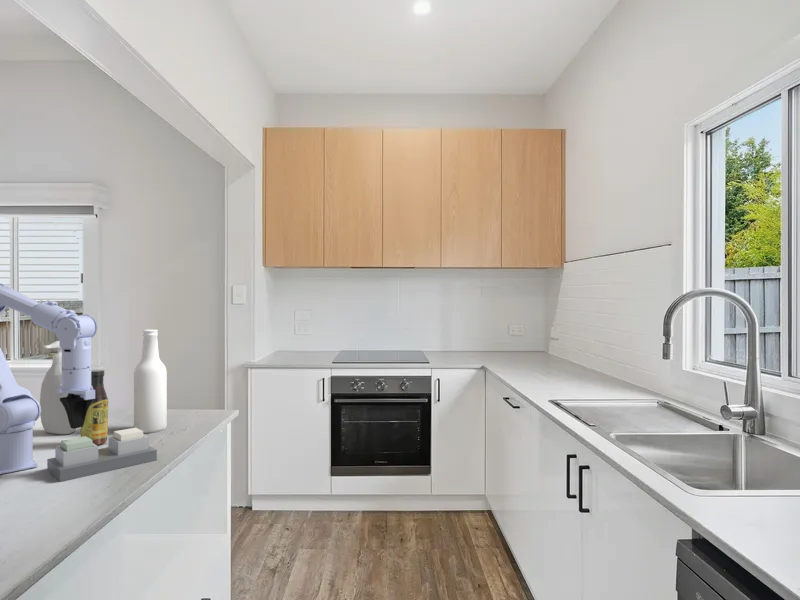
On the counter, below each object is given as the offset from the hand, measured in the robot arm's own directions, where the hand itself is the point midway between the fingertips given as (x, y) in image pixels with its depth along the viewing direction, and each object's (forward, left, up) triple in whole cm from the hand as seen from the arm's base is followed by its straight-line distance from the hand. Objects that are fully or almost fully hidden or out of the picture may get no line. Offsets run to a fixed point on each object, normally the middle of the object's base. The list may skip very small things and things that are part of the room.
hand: (76, 427), depth 116 cm
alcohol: (-25, +25, -10) cm, 37 cm away
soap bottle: (-41, +5, -10) cm, 43 cm away
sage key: (0, 0, -5) cm, 5 cm away
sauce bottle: (-21, +9, -10) cm, 25 cm away
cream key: (0, +11, -5) cm, 12 cm away
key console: (0, +5, -10) cm, 11 cm away
